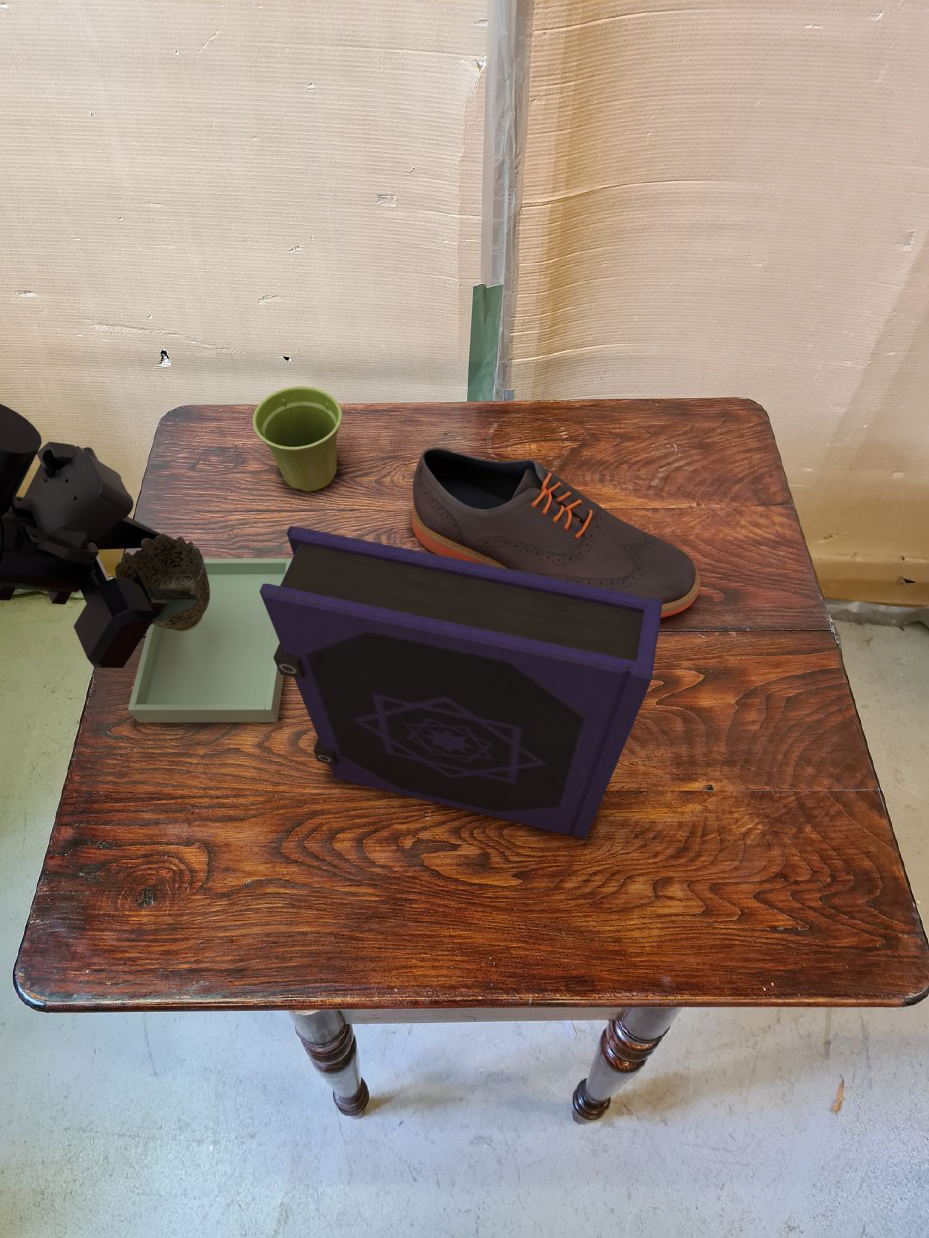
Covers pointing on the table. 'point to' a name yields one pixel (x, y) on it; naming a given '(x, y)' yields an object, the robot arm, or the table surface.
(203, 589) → the ornate lamp shade
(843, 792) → the table surface
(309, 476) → the plant pot
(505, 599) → the book
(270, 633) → the tray
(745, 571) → the table surface
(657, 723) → the table surface
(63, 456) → the robot arm
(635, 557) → the oxford shoe
